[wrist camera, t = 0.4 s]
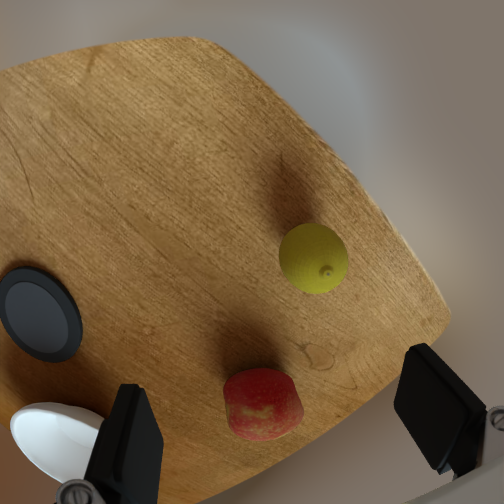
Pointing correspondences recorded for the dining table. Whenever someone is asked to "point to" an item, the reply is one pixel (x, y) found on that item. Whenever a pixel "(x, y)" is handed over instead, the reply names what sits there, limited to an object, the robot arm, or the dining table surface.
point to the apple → (262, 404)
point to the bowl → (56, 437)
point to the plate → (40, 314)
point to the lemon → (313, 258)
